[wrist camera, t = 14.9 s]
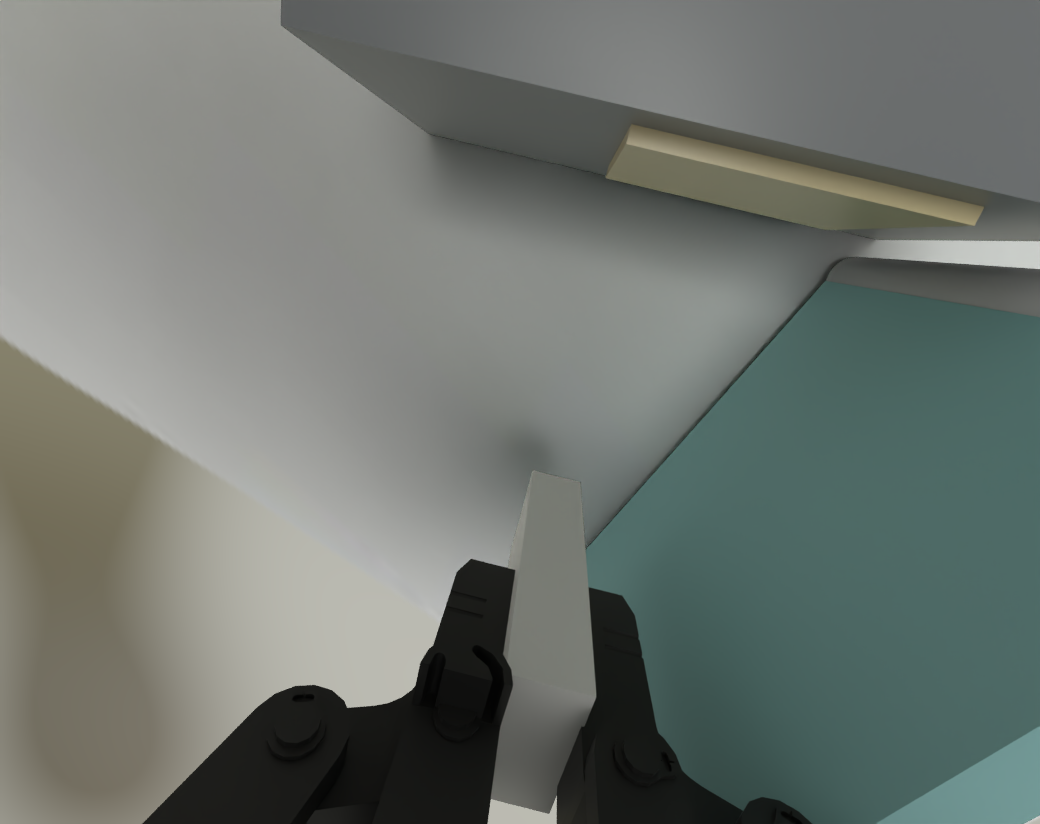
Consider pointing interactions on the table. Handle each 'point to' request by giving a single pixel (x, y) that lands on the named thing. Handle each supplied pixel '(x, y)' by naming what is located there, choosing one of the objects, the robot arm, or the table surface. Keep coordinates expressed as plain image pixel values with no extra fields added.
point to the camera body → (730, 99)
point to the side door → (855, 557)
